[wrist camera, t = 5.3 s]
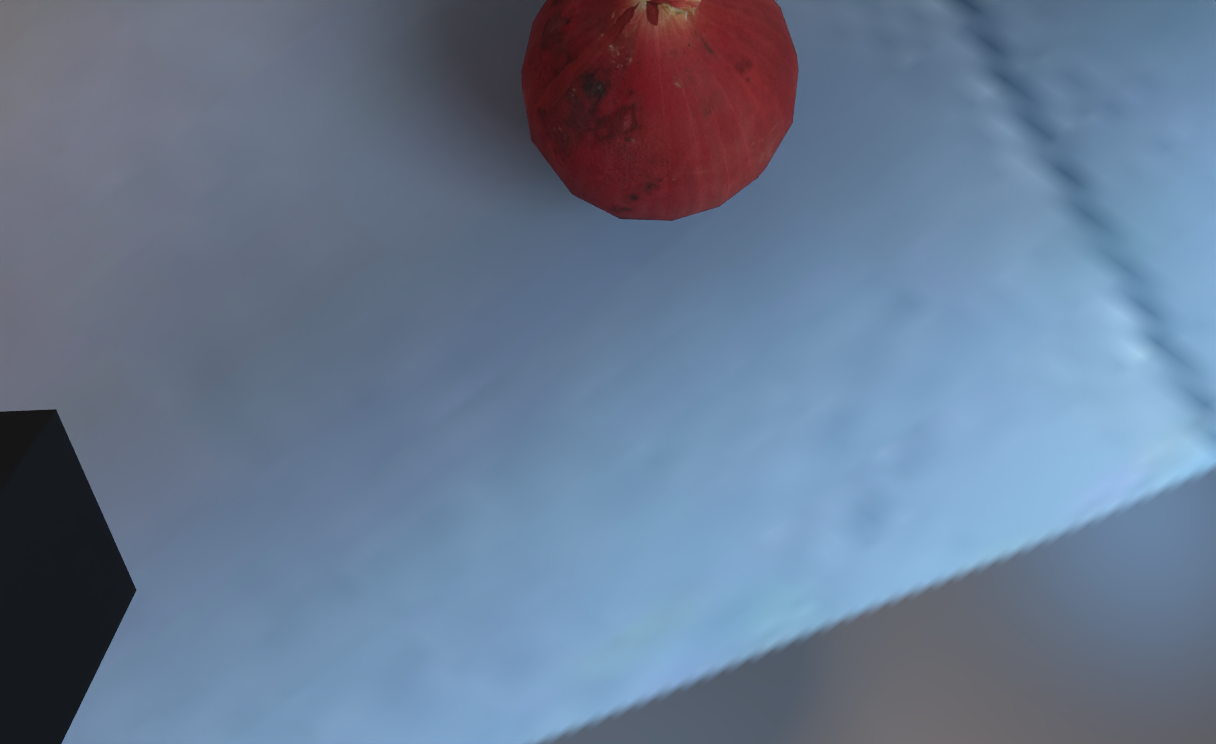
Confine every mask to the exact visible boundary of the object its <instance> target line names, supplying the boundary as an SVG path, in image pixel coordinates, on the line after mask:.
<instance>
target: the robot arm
mask: <svg viewBox="0 0 1216 744" xmlns="http://www.w3.org/2000/svg"><path fill="white" fill-rule="evenodd" d="M135 592H136V588H135V586H134V584H133V581H132V579H131V577H130V575H129V572H128V570H127V568H126V566H125V563H124V561H123V559H122V557H121V554H120V552H119V550H118V548H117V546H116V543H115V541H114V539H113V537H112V534H111V532H110V530H109V528H108V525H107V523H106V521H105V519H104V516H103V514H102V512H101V510H100V507H99V505H98V503H97V501H96V498H95V496H94V494H93V492H92V489H91V487H90V485H89V483H88V480H87V478H86V476H85V474H84V471H83V469H82V467H81V465H80V462H79V460H78V458H77V456H76V453H75V451H74V449H73V447H72V444H71V442H70V440H69V438H68V435H67V433H66V431H65V429H64V426H63V424H62V422H61V420H60V417H59V415H58V413H57V411H56V410H31V411H7V412H0V744H61V743H62V741H63V739H64V737H65V735H66V733H67V731H68V729H69V727H70V725H71V723H72V721H73V719H74V717H75V715H76V713H77V711H78V708H79V706H80V704H81V702H82V700H83V698H84V696H85V694H86V692H87V690H88V688H89V686H90V684H91V682H92V680H93V678H94V676H95V674H96V672H97V670H98V668H99V666H100V663H101V661H102V659H103V657H104V655H105V653H106V651H107V649H108V647H109V645H110V643H111V641H112V639H113V637H114V635H115V633H116V631H117V629H118V627H119V625H120V623H121V621H122V618H123V616H124V614H125V612H126V610H127V608H128V606H129V604H130V602H131V600H132V598H133V596H134V594H135Z"/></svg>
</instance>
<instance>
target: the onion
mask: <svg viewBox="0 0 1216 744" xmlns="http://www.w3.org/2000/svg"><path fill="white" fill-rule="evenodd" d="M797 79H798V62H797V54H796V51H795V48H794V45H793V43H792V40H791V37H790V34H789V31H788V28H787V25H786V22H785V19H784V16H783V13H782V11H781V8H780V7H779V5H778V4H777V3H776V2H775V0H547V1H546V3H545V4H544V5H543V7H542V8H541V10H540V11H539V13H538V15H537V16H536V18H535V20H534V21H533V24H532V28H531V32H530V37H529V41H528V45H527V50H526V54H525V58H524V63H523V67H522V89H523V95H524V100H525V106H526V112H527V117H528V123H529V128H530V134H531V139H532V142H533V143H534V144H535V146H536V147H537V148H538V149H539V151H540V152H541V153H542V155H543V156H544V157H545V159H546V160H547V161H548V163H549V164H550V165H551V167H552V168H553V169H554V171H555V172H556V173H557V175H558V176H559V177H560V179H561V180H562V181H563V183H564V184H565V185H566V187H567V188H568V189H569V191H570V192H571V193H572V194H573V195H575V196H577V197H578V198H580V199H582V200H584V201H586V202H588V203H590V204H592V205H594V206H596V207H598V208H600V209H602V210H604V211H606V212H608V213H610V214H612V215H614V216H616V217H618V218H620V219H639V220H669V221H672V220H676V219H679V218H682V217H686V216H689V215H692V214H696V213H699V212H703V211H706V210H709V209H713V208H716V207H719V206H721V205H722V204H723V203H725V202H726V201H727V200H729V199H730V198H731V197H733V196H734V195H735V194H736V193H738V192H739V191H740V190H742V189H743V188H744V187H746V186H747V185H748V184H750V183H751V182H752V181H754V180H755V179H756V178H758V177H759V175H760V174H761V173H762V172H763V170H764V169H765V168H766V166H767V165H768V163H769V161H770V160H771V158H772V156H773V155H774V153H775V151H776V150H777V148H778V146H779V144H780V143H781V141H782V139H783V138H784V136H785V134H786V133H787V131H788V129H789V128H790V126H791V124H792V123H793V114H794V105H795V96H796V88H797Z"/></svg>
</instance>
